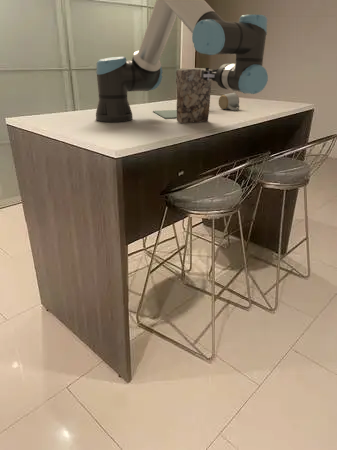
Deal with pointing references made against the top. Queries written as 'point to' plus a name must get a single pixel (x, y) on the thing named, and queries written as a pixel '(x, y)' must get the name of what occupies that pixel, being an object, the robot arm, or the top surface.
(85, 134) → the top surface
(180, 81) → the stone block
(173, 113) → the rubber mat
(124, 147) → the top surface
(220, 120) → the top surface
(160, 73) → the robot arm
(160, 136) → the top surface
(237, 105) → the ceramic mug
